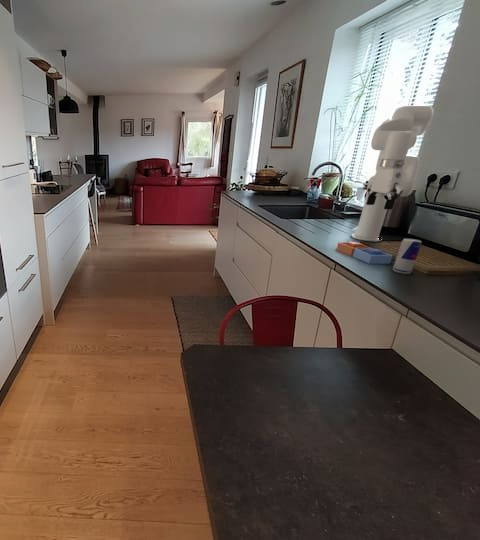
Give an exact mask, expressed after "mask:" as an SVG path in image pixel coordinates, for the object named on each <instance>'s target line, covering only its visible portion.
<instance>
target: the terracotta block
mask: <svg viewBox="0 0 480 540" xmlns="http://www.w3.org/2000/svg"><path fill="white" fill-rule="evenodd" d="M346 243H347V246H350V247H353V248H363V245H364V243H362V242H358V241H347V242H346Z"/></svg>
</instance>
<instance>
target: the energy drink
mask: <svg viewBox="0 0 480 540" xmlns="http://www.w3.org/2000/svg"><path fill="white" fill-rule="evenodd" d="M422 245H423V244H422V240H420V239H415V238H407V237H406V238H405V237H404V238H403V240H401V243H400V246H399V249H398V252H397V255H396V258H395V261H394V264H393V266H392V271H393V272H395V273H399V274H403V275H410V274H412V272H413V269H414V267H415V264H416V261H417V258H418V255H419V252H420V249H421V247H422Z"/></svg>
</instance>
